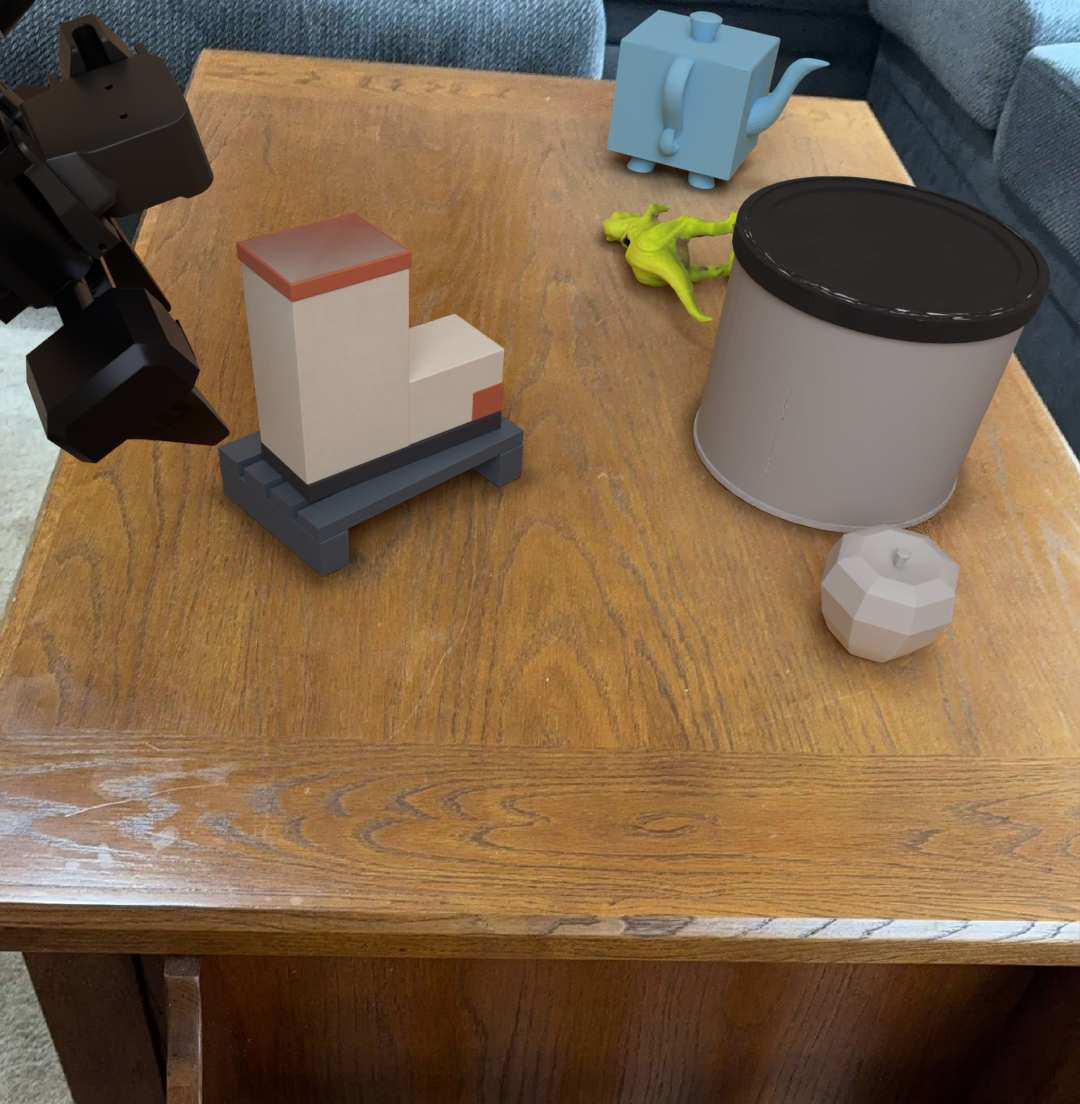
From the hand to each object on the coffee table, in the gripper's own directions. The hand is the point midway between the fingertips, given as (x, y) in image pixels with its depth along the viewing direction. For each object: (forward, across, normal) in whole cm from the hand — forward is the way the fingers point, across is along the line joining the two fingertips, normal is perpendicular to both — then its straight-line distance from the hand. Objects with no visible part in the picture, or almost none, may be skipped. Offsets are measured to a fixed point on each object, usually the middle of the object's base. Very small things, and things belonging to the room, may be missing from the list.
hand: (192, 373), depth 54 cm
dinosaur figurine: (+39, +20, -26) cm, 51 cm away
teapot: (+51, +38, -38) cm, 74 cm away
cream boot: (+15, +2, -4) cm, 15 cm away
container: (+34, -5, -27) cm, 44 cm away
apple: (+26, -21, -21) cm, 40 cm away
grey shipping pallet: (+18, +2, -2) cm, 18 cm away
